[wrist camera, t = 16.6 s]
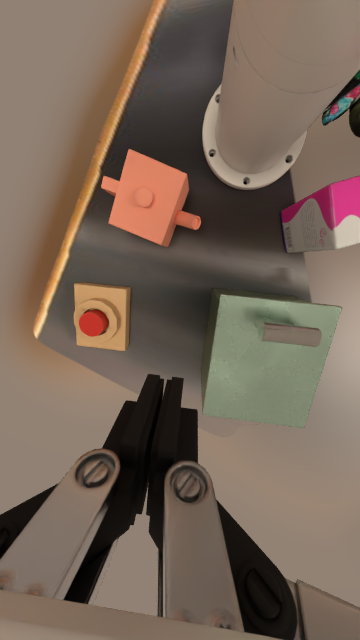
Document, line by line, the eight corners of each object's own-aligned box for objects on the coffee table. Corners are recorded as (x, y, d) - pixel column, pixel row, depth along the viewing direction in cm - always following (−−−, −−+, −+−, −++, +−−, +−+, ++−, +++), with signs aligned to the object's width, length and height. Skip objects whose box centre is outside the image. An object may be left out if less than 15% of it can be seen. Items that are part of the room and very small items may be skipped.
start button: (84, 308, 32) (78, 311, 30) (108, 310, 32) (103, 314, 30) (84, 331, 33) (79, 335, 31) (108, 334, 33) (103, 338, 31)
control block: (81, 282, 35) (66, 285, 31) (130, 287, 34) (122, 291, 31) (83, 340, 38) (70, 349, 34) (129, 345, 37) (121, 356, 33)
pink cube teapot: (189, 256, 32) (186, 256, 24) (113, 224, 32) (85, 213, 24) (210, 201, 30) (215, 182, 22) (129, 166, 30) (105, 133, 22)
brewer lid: (219, 292, 24) (225, 302, 19) (337, 305, 23) (375, 318, 18) (202, 410, 28) (203, 443, 23) (301, 423, 28) (323, 459, 23)
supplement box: (328, 241, 30) (402, 233, 19) (284, 253, 31) (332, 252, 20) (324, 197, 29) (402, 161, 18) (278, 210, 30) (326, 184, 19)
